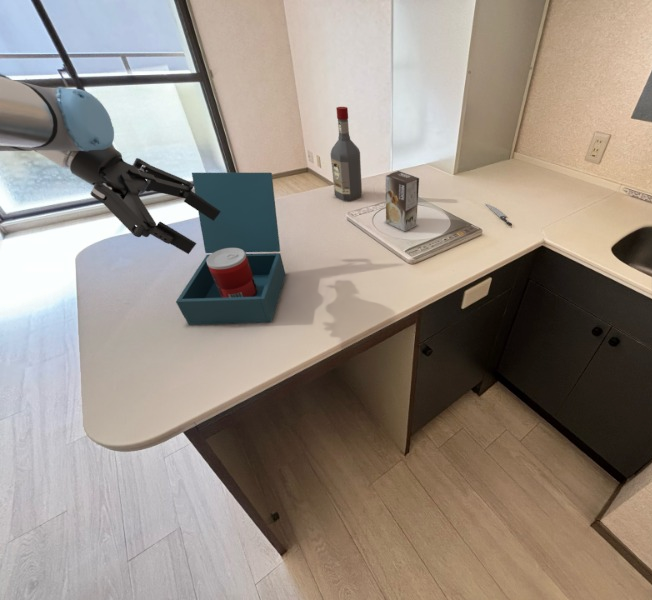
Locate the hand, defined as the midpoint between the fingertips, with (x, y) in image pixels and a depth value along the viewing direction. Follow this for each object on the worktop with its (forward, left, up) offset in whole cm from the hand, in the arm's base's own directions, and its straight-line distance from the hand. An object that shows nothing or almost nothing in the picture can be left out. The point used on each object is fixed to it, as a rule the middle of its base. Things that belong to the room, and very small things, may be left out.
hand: (206, 231), depth 67 cm
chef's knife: (+84, -35, -18) cm, 93 cm away
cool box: (+1, -1, -18) cm, 18 cm away
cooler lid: (+11, +7, -2) cm, 13 cm away
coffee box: (+56, -10, -18) cm, 60 cm away
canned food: (+1, -1, -17) cm, 18 cm away
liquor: (+62, +19, -18) cm, 68 cm away
